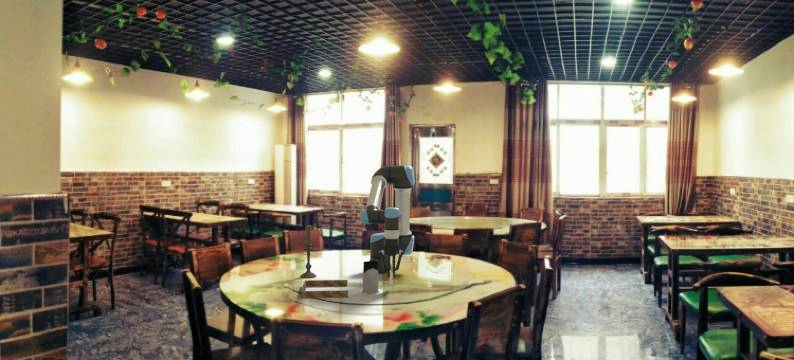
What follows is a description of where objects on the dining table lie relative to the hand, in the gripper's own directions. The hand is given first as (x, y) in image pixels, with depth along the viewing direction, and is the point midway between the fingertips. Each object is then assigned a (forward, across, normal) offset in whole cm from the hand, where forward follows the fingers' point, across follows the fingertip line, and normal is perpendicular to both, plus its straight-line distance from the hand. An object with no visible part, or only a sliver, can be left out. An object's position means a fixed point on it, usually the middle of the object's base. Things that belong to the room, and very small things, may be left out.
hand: (391, 283), depth 250 cm
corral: (+3, -33, 0) cm, 33 cm away
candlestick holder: (+4, -44, +35) cm, 56 cm away
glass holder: (+4, -11, 0) cm, 12 cm away
